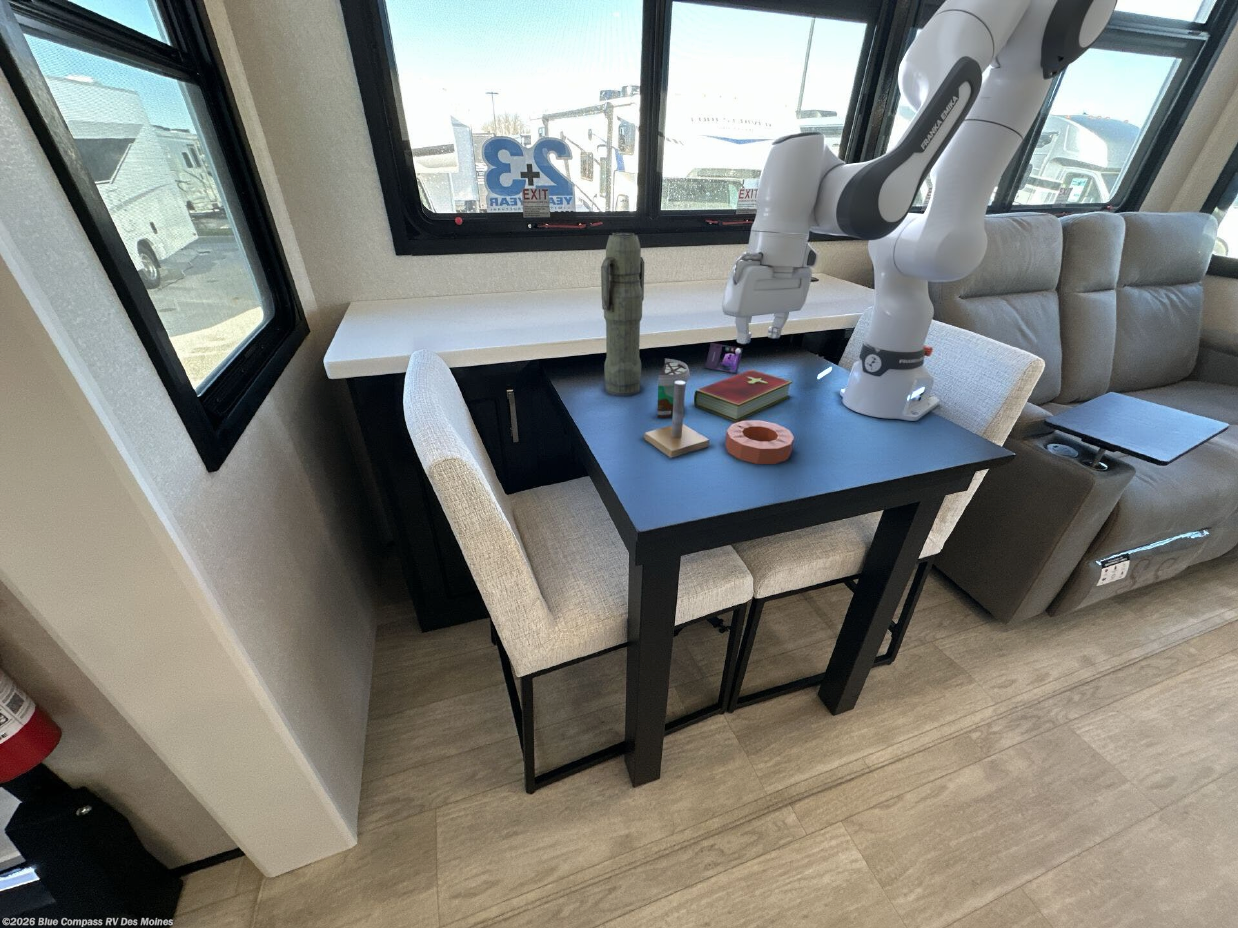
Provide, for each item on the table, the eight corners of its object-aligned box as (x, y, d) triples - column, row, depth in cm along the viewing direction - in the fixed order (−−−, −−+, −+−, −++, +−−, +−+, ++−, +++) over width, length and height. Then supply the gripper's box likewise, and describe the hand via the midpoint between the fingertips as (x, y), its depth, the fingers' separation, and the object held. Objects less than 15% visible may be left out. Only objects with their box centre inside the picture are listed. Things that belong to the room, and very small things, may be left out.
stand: (680, 429, 101) (684, 371, 94) (708, 446, 94) (715, 385, 88) (644, 439, 97) (646, 379, 90) (671, 458, 90) (674, 395, 84)
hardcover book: (693, 405, 111) (694, 388, 109) (747, 383, 123) (749, 367, 121) (736, 422, 104) (738, 403, 101) (789, 397, 116) (792, 380, 113)
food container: (685, 423, 103) (688, 378, 98) (656, 420, 104) (658, 376, 99) (689, 401, 114) (692, 359, 109) (663, 399, 115) (665, 357, 110)
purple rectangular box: (710, 342, 132) (741, 348, 128) (716, 344, 136) (747, 349, 132) (704, 367, 133) (735, 373, 129) (711, 368, 138) (741, 374, 134)
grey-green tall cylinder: (651, 386, 122) (656, 233, 104) (622, 400, 114) (622, 237, 96) (623, 378, 127) (624, 230, 109) (593, 392, 119) (589, 234, 101)
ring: (757, 429, 100) (760, 415, 99) (803, 453, 91) (807, 438, 90) (713, 443, 95) (714, 428, 93) (757, 470, 86) (760, 454, 84)
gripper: (756, 254, 69) (739, 351, 75) (823, 255, 82) (804, 338, 88) (720, 250, 73) (706, 342, 79) (789, 252, 86) (773, 331, 92)
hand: (758, 340), depth 84 cm, fingers open, 8 cm apart
